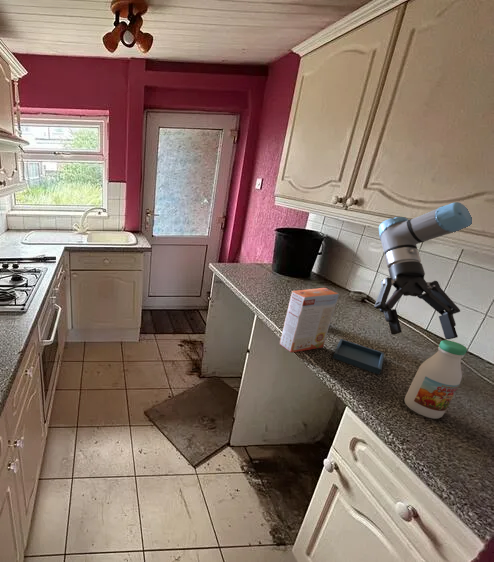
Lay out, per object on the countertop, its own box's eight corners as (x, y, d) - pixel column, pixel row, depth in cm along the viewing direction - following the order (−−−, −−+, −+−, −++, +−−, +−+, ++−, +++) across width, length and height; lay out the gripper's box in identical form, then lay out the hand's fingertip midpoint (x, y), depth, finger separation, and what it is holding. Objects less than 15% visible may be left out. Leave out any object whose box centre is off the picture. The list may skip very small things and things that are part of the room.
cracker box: (309, 339, 114) (325, 286, 106) (323, 348, 109) (341, 293, 101) (277, 343, 111) (291, 289, 103) (290, 353, 105) (306, 297, 98)
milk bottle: (396, 401, 85) (425, 339, 78) (413, 395, 88) (443, 334, 80) (431, 423, 78) (466, 356, 71) (448, 415, 81) (484, 350, 74)
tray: (382, 357, 104) (384, 352, 104) (379, 374, 96) (381, 369, 95) (339, 343, 112) (340, 338, 111) (332, 358, 103) (334, 352, 103)
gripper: (367, 257, 90) (383, 327, 82) (462, 263, 88) (489, 336, 79) (351, 268, 97) (365, 334, 89) (439, 274, 94) (461, 343, 86)
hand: (423, 335), depth 84 cm, fingers open, 13 cm apart
